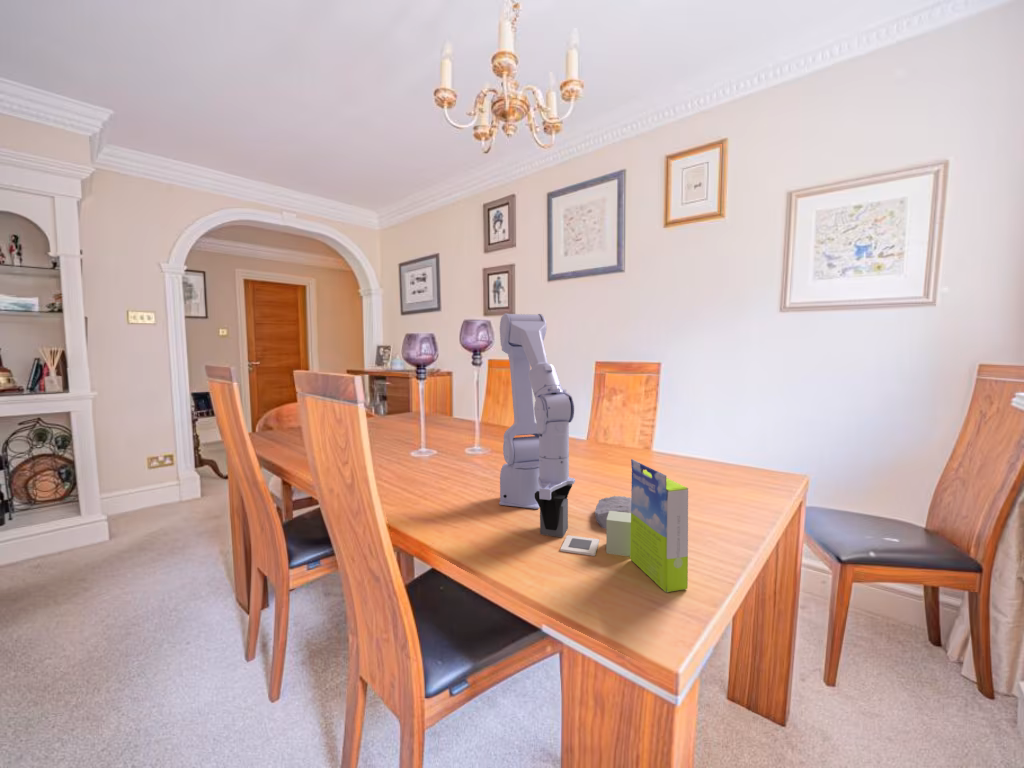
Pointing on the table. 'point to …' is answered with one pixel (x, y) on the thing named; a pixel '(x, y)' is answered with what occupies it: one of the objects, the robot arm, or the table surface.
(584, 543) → the card
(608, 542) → the sage block
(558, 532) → the charcoal block
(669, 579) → the box
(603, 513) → the stone block
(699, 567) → the table surface
